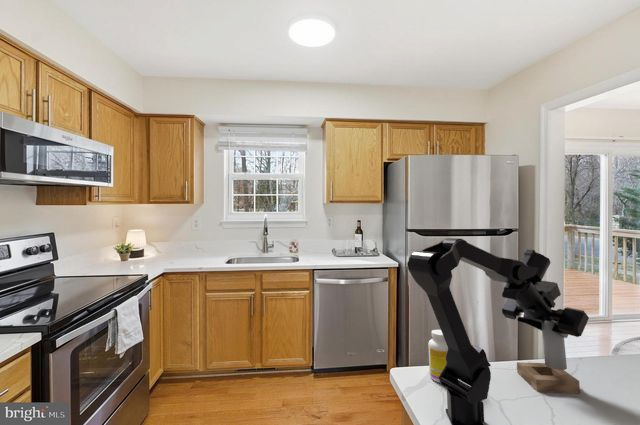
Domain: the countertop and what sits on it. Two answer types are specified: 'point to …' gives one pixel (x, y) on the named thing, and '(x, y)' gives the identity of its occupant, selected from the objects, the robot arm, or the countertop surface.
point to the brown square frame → (547, 378)
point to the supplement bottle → (437, 354)
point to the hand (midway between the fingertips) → (556, 333)
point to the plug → (553, 347)
